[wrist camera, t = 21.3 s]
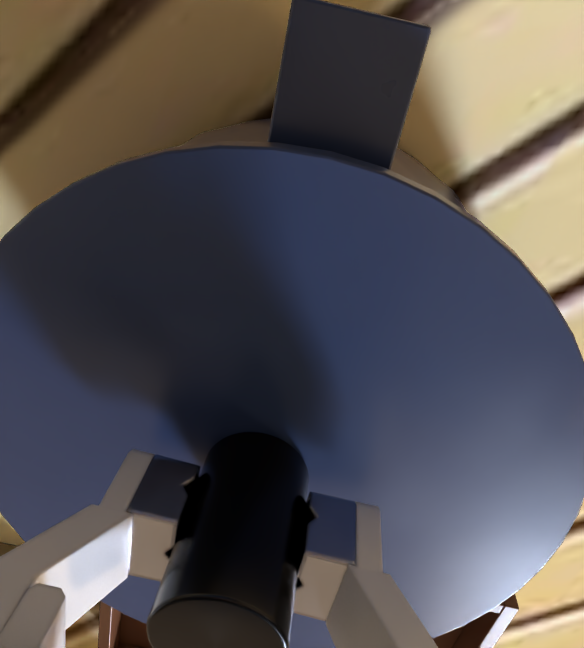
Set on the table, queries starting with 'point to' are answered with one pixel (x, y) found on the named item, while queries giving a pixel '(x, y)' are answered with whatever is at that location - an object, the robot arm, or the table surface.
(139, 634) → the tray
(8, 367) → the lid
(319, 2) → the pot
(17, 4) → the table surface
